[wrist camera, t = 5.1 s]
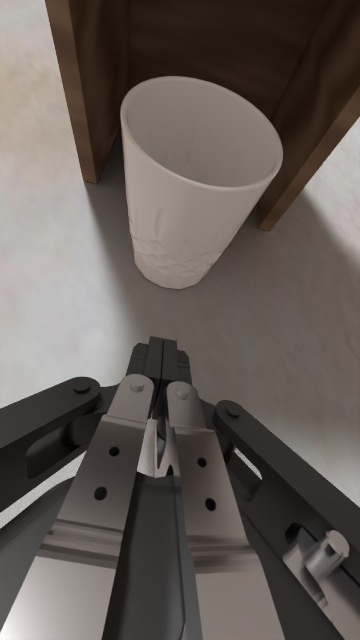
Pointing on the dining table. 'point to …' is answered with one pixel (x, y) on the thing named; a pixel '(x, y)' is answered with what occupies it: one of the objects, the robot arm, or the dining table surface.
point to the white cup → (191, 173)
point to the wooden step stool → (216, 71)
